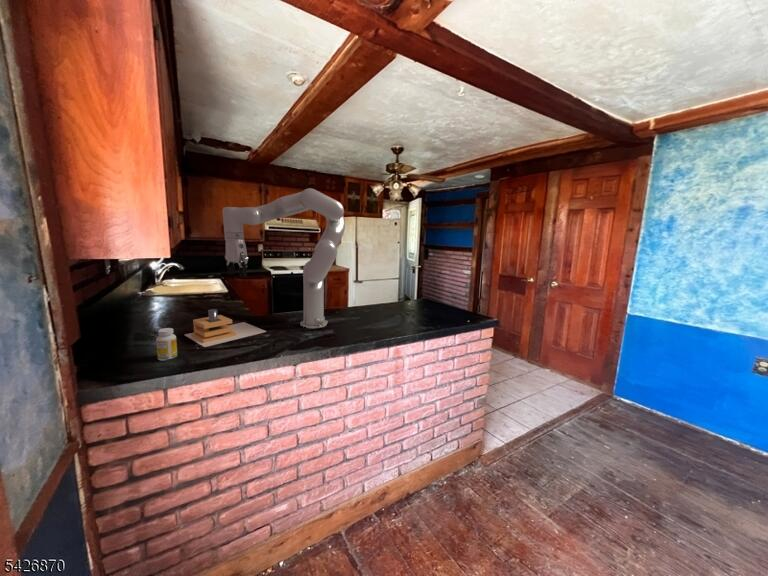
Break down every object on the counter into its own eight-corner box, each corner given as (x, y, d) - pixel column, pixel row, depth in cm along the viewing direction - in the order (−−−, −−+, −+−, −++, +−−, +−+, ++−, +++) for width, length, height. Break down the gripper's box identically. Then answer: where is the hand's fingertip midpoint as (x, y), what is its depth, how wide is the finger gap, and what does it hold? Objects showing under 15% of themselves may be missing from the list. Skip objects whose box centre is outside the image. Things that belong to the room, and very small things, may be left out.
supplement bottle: (160, 362, 104) (157, 333, 102) (155, 357, 108) (153, 329, 106) (180, 357, 108) (177, 330, 107) (174, 353, 112) (172, 326, 110)
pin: (220, 333, 130) (218, 310, 128) (212, 335, 127) (210, 311, 126) (216, 331, 132) (215, 308, 130) (208, 333, 129) (206, 310, 127)
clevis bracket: (236, 335, 131) (235, 319, 130) (203, 343, 121) (202, 326, 120) (223, 328, 139) (222, 314, 137) (191, 335, 128) (189, 320, 127)
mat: (267, 332, 138) (267, 331, 138) (204, 348, 117) (204, 347, 117) (244, 323, 150) (244, 322, 150) (183, 336, 130) (183, 334, 129)
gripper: (253, 236, 132) (256, 276, 136) (232, 235, 142) (235, 272, 146) (236, 237, 126) (239, 278, 130) (215, 236, 136) (219, 274, 140)
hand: (237, 275), depth 138 cm, fingers open, 9 cm apart
